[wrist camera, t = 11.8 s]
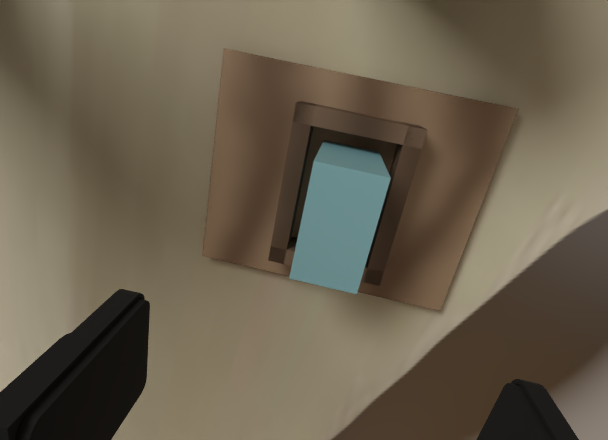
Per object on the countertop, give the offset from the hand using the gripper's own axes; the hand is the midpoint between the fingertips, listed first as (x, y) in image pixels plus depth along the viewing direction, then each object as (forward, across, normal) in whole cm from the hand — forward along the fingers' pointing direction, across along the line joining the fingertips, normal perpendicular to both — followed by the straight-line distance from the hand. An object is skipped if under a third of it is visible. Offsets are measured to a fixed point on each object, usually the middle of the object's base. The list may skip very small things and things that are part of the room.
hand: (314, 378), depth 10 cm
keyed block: (+19, 0, 0) cm, 19 cm away
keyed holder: (+20, -1, 0) cm, 20 cm away
